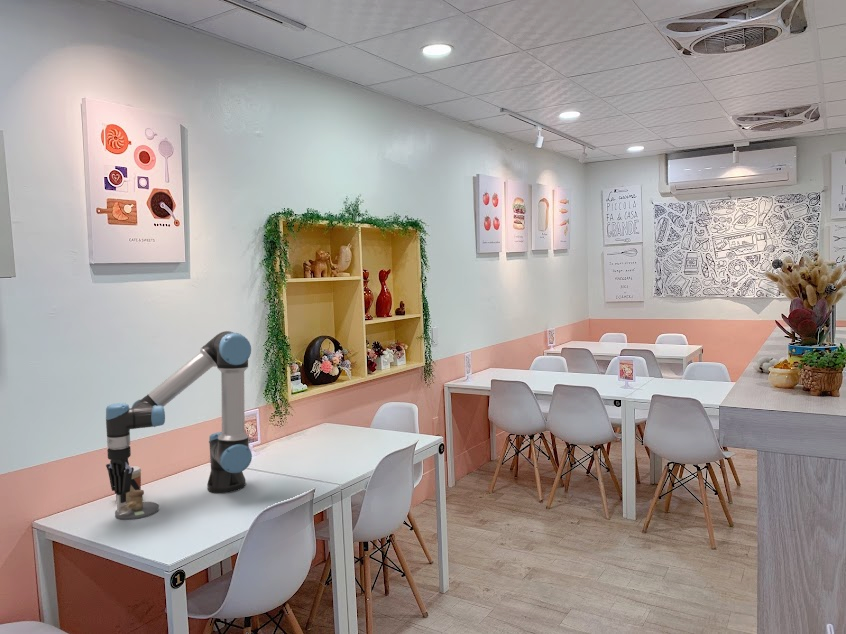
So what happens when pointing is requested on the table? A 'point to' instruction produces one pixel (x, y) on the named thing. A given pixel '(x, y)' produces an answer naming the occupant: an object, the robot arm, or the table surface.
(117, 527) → the table surface
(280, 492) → the table surface
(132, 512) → the plate
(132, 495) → the peg dial
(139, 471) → the coffee cup
